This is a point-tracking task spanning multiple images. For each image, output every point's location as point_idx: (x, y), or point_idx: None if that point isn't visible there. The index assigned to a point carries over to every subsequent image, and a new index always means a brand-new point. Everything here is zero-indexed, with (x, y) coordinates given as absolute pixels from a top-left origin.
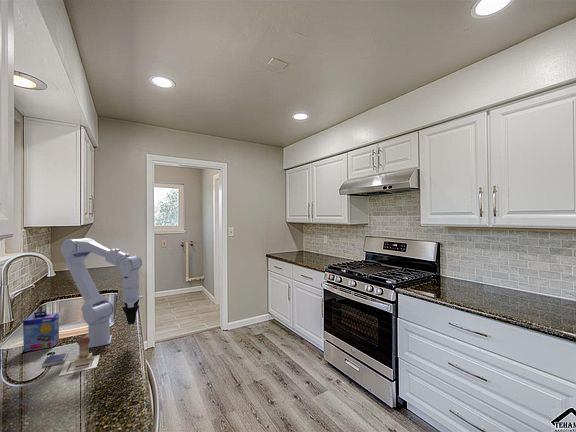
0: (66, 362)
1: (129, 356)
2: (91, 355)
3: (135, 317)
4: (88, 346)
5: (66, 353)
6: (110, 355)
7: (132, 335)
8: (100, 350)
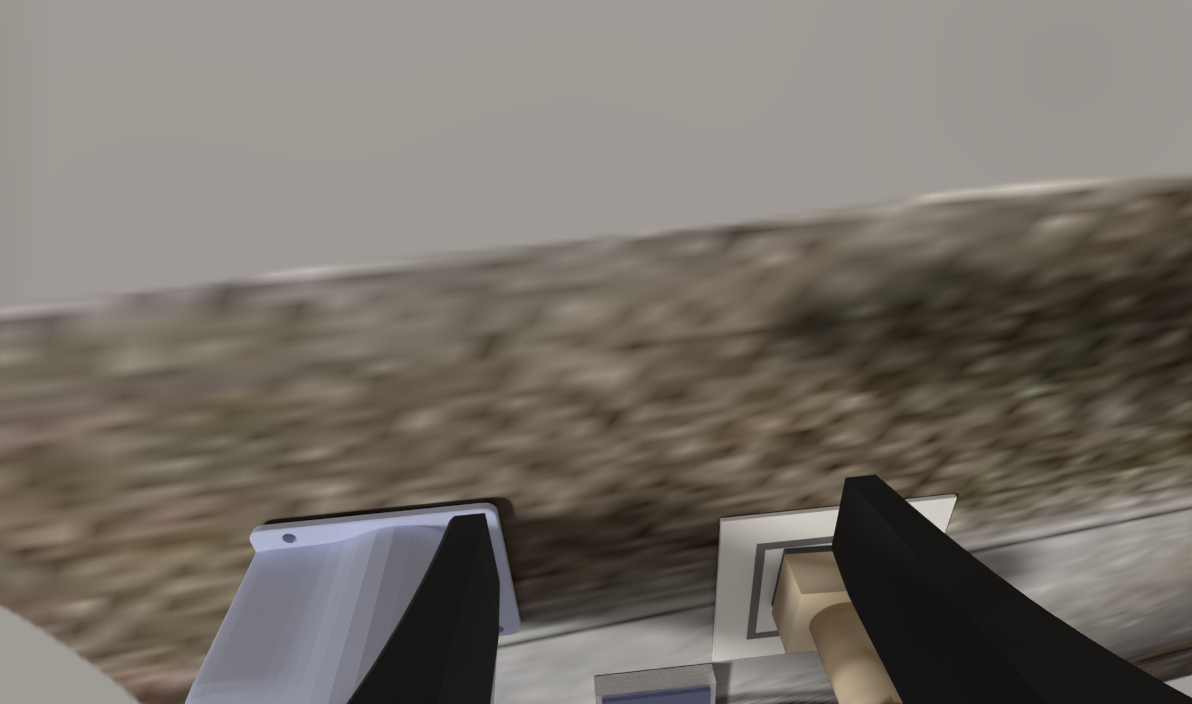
0: (724, 657)
1: (928, 297)
2: (832, 583)
3: (973, 558)
4: (882, 676)
5: (610, 701)
6: (778, 449)
7: (299, 340)
8: (609, 534)
